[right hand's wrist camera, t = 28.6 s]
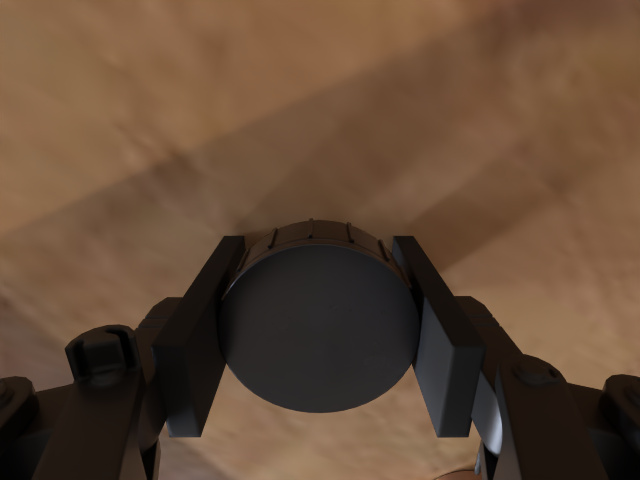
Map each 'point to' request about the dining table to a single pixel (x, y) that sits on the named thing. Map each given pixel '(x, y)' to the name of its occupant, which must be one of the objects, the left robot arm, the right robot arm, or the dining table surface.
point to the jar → (461, 476)
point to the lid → (318, 318)
